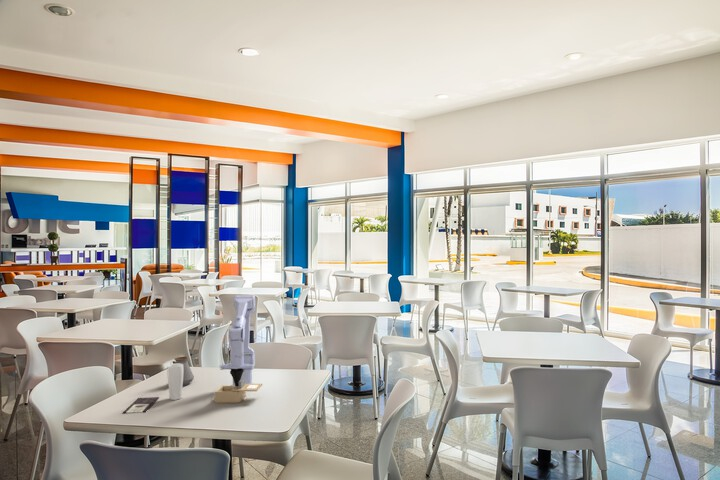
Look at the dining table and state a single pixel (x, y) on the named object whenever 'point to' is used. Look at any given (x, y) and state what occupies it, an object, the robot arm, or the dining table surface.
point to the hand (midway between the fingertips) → (237, 385)
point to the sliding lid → (246, 386)
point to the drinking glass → (175, 380)
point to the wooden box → (229, 395)
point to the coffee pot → (185, 370)
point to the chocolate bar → (141, 405)
